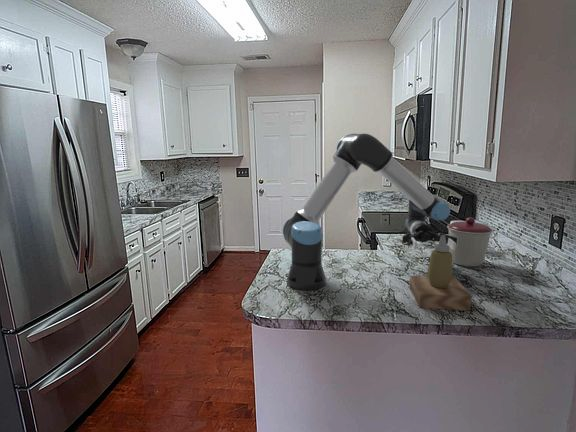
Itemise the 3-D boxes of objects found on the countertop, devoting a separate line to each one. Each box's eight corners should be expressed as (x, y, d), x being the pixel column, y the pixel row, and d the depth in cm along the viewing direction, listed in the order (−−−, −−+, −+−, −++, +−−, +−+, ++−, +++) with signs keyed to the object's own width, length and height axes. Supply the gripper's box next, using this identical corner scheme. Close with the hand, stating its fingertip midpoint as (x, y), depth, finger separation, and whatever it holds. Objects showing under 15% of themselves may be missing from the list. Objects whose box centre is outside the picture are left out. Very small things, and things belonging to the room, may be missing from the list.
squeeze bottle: (452, 283, 125) (456, 234, 121) (450, 291, 118) (455, 239, 114) (427, 279, 128) (431, 231, 125) (425, 287, 121) (429, 236, 118)
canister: (497, 265, 156) (502, 218, 152) (474, 273, 147) (479, 224, 142) (458, 254, 171) (463, 211, 167) (435, 261, 162) (439, 216, 157)
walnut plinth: (419, 307, 117) (420, 293, 116) (409, 288, 133) (410, 275, 132) (470, 310, 115) (471, 296, 114) (453, 290, 131) (455, 277, 130)
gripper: (451, 240, 148) (469, 257, 128) (390, 239, 152) (399, 254, 131) (452, 223, 147) (472, 237, 126) (391, 222, 150) (400, 235, 129)
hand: (435, 246), depth 129 cm, fingers open, 13 cm apart
